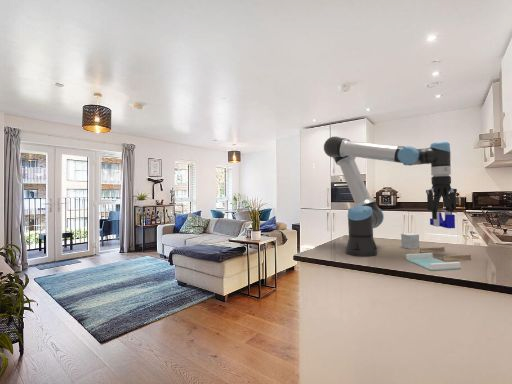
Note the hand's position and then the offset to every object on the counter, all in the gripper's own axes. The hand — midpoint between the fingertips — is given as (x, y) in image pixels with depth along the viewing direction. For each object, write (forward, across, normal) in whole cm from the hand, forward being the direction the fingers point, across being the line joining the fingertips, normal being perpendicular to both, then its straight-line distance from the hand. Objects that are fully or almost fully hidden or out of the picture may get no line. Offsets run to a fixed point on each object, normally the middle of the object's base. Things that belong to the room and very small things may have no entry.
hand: (442, 225), depth 127 cm
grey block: (+14, -4, +19) cm, 24 cm away
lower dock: (+14, -14, -11) cm, 23 cm away
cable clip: (+1, 0, 0) cm, 1 cm away
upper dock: (+14, 0, 0) cm, 14 cm away
